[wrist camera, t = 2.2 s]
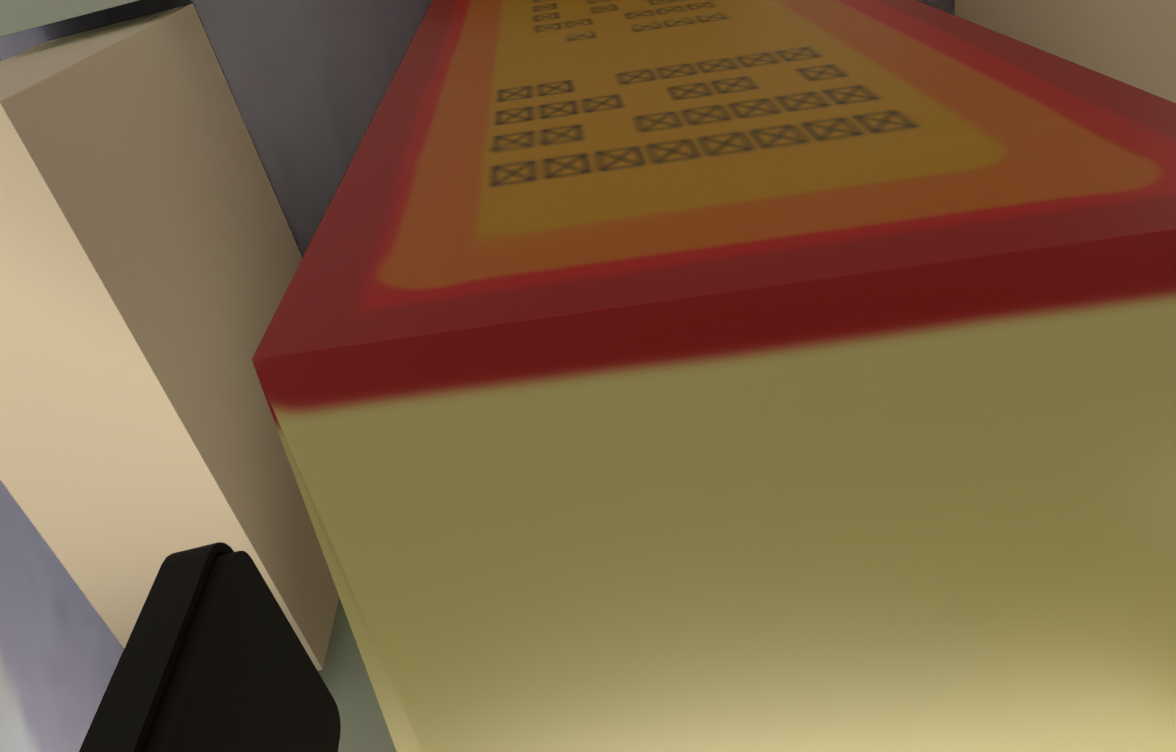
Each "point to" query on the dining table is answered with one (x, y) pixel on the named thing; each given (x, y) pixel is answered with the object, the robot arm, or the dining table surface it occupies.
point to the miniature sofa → (222, 306)
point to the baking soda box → (745, 385)
